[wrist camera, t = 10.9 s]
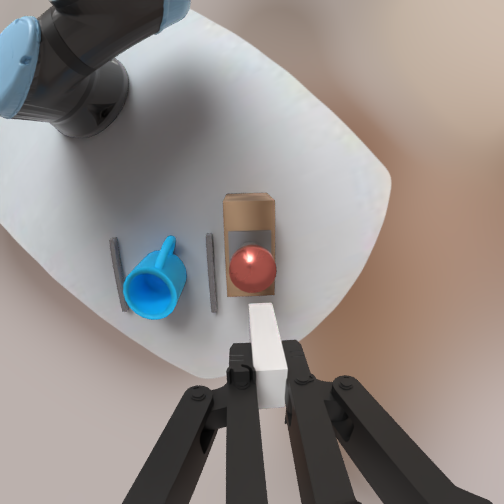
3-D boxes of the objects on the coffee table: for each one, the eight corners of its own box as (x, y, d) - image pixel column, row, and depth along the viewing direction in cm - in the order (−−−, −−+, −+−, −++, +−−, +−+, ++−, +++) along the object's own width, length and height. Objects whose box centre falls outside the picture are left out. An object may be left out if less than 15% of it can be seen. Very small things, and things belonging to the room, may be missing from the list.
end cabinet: (229, 269, 45) (227, 298, 35) (226, 193, 42) (222, 202, 31) (267, 268, 45) (275, 297, 35) (266, 192, 42) (275, 201, 32)
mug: (178, 302, 47) (168, 327, 39) (135, 285, 45) (118, 306, 37) (201, 239, 43) (193, 255, 36) (154, 220, 42) (136, 232, 34)
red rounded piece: (229, 234, 32) (227, 249, 26) (269, 233, 32) (276, 247, 27) (231, 272, 33) (230, 293, 28) (270, 271, 34) (276, 291, 28)
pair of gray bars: (112, 237, 43) (109, 240, 41) (211, 233, 43) (211, 235, 42) (125, 307, 46) (122, 311, 45) (216, 308, 47) (216, 312, 46)
